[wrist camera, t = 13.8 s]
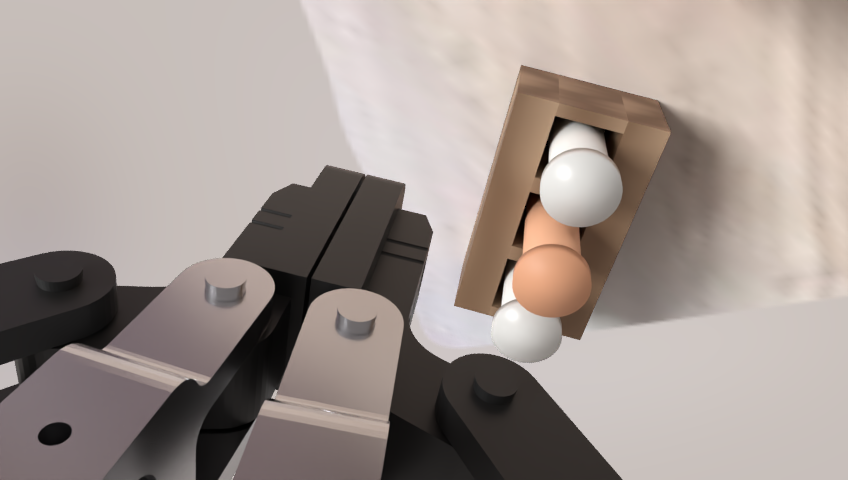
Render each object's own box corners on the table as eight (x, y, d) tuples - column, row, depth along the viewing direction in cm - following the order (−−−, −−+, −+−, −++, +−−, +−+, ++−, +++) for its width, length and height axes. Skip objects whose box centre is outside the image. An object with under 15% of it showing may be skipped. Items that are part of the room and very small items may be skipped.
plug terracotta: (593, 184, 39) (603, 264, 31) (572, 238, 41) (576, 326, 33) (530, 167, 39) (524, 243, 31) (512, 222, 41) (503, 305, 33)
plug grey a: (568, 235, 43) (571, 318, 35) (550, 282, 45) (549, 370, 37) (510, 220, 43) (501, 298, 35) (494, 267, 45) (483, 352, 37)
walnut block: (657, 100, 38) (671, 132, 34) (577, 293, 45) (579, 340, 41) (521, 65, 38) (517, 92, 34) (463, 263, 45) (454, 305, 41)
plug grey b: (618, 104, 38) (635, 166, 30) (595, 163, 40) (605, 235, 32) (553, 86, 38) (553, 145, 30) (534, 147, 40) (529, 215, 32)
